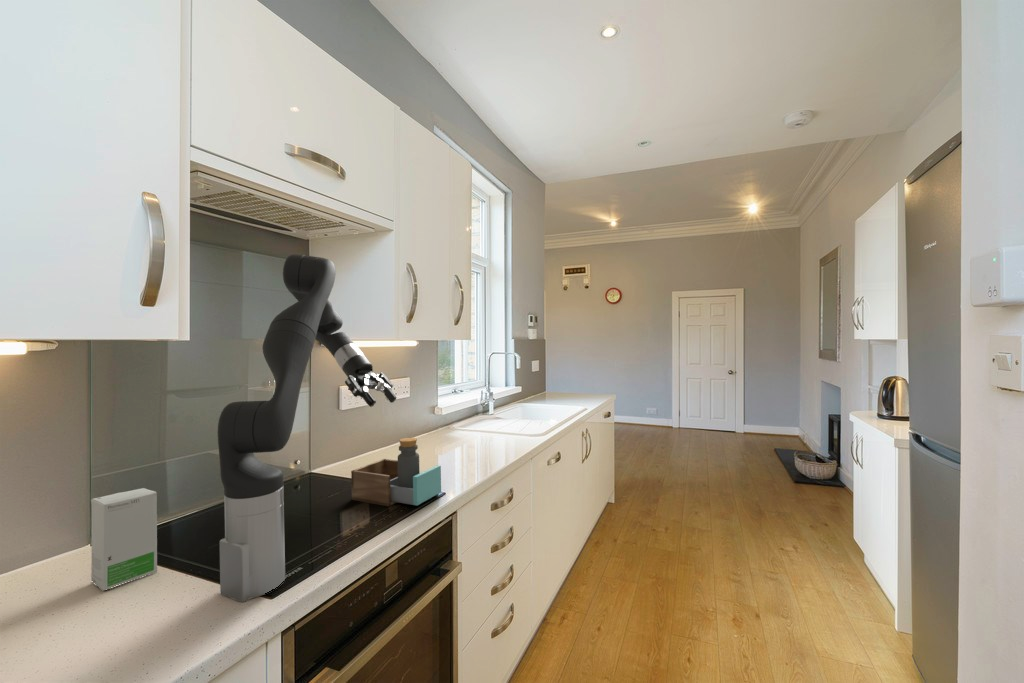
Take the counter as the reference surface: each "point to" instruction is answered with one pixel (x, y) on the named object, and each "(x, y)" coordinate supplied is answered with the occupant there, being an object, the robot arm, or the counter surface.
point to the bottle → (407, 462)
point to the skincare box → (123, 537)
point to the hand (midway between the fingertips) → (384, 402)
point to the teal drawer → (418, 487)
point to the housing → (374, 482)
